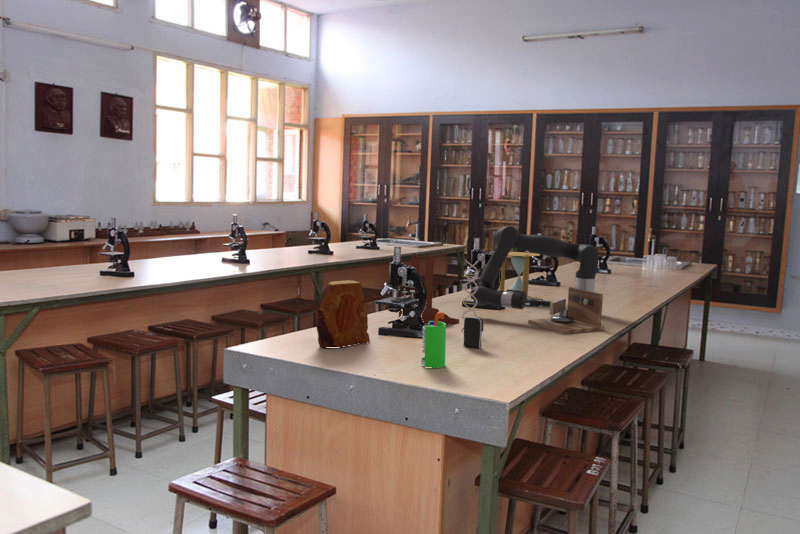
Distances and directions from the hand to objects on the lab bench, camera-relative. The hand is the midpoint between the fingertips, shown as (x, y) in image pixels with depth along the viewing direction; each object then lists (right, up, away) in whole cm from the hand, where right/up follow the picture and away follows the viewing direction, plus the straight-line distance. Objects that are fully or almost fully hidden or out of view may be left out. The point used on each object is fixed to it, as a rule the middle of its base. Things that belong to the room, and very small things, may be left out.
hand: (550, 304), depth 306 cm
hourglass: (-2, -1, +77) cm, 77 cm away
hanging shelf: (-52, -8, +9) cm, 54 cm away
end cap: (-6, -3, +62) cm, 62 cm away
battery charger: (-38, -14, -41) cm, 58 cm away
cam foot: (+4, -8, +3) cm, 9 cm away
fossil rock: (-87, -13, -45) cm, 99 cm away
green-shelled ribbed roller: (-54, -17, -70) cm, 90 cm away
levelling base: (+7, -10, +2) cm, 12 cm away
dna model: (-37, -11, -15) cm, 41 cm away
